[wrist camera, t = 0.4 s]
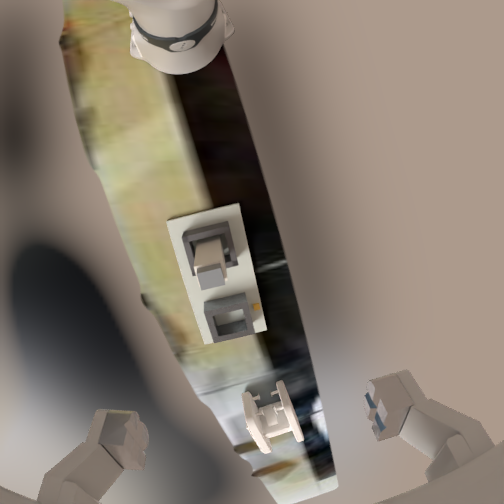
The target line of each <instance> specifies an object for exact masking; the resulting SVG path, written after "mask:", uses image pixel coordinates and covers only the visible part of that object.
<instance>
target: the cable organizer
mask: <svg viewBox="0 0 504 504" xmlns="http://www.w3.org/2000/svg"><path fill="white" fill-rule="evenodd" d="M276 386H277V389H278V390H276V391H273V392H271V391H270V393H271V396H272V395H274V394H277V393H279V396H280V399H281V401H279V402H276V403H273V404H270V405H266V406H263V407H260V408H258V407H257V405H256V403H255V401H254V400H257V399H259V400H260V396H259V394H258V396H256V397H252V395H251V393H250V392H249V391H248V392H245V393H242V401H243V407H244V413H245V419H246V426H247V427H246V428H247V430H249V431H250V434H251V435H252V438H254V440H255V442H256V444H257V445H258V446H259V448H260V451H262V452H264V453H265V454H267V453H270V452H272V447H271V443H270V439H269V438H271V437H275V436H277V435H280V434H283V433H286V432H289V431H293V433H294V435H295V438H296V440H297V441H298V442H301V441H304V437H303V433H302V430H301V428H300V425H299V422H298V419H297V416H296V413H295V410H294V408H293V405H292V403H291V400H290V397H289V395H288V392H287V390H286V387H285V385H284V382H283V381H282V380H280V381H277V382H276Z"/></svg>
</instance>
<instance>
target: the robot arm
mask: <svg viewBox="0 0 504 504" xmlns="http://www.w3.org/2000/svg"><path fill="white" fill-rule="evenodd" d="M112 1H115V2H118V3H120V4H123V5H125V6H126V7H127V8H128V9H129V13H130V17H133V23H131V24H130V28H131V30H132V33H131V45H130V53H131V56H132V57H134V58H137V59H140V60H145V61H146V62H148V63H149V64H150V65H152V66H153V67H154V68H156V69H157V70H159V71H162V72H165V73H169V74H186V73H190V72H194V71H196V70H199V69H201V68H202V67H204V66H206V65H207V64H208V63H210V62H211V61H212V60H213V59H214V58H215V56H216V55H217V54H218V52H219V50H220V48H221V46H222V44H223V43H224V41H226V40H227V39H228V38H230V37H231V36H232V35H233V33H234V31H235V30H234V26H233V24H232V22H231V20H230V18H229V17H228V14H227V13H226V11H225V9H224V7H223V5H222V4H221V1H220V0H112ZM226 24H227V26H226ZM135 46H136V47H135ZM366 388H367V390H368V392H367V393H366V395H365V396H364V409H365V413H366V415H367V418H368V419H369V420H371V421H373V425H372V429H373V432H374V434H375V436H376V439H377V441H381V440H385V439H388V438H391V437H394V436H397V435H399V437H401V438H402V439H404V440H405V441H406V442H408V443H409V444H411V445H412V446H414V447H415V448H416V449H418V450H419V451H421V452H422V453H424V454H425V455H427V456H428V457H430V458H431V459H433V461H432V463H431V464H430V466H429V467H428V468H427V470H426V472H425V475H426V477H427V479H428V483H426V484H424V485H422V486H419V487H417V488H415V489H412V490H410V491H407V492H405V493H402V494H400V495H397V496H395V497H392V498H389V499H386V500H383V501H381V502H378V503H375V504H504V440H503V441H502V442H500V443H499V444H498V445H496V446H495V445H494V444H493V442H492V440H491V439H490V437H489V436H488V434H487V433H486V431H485V430H484V428H483V426H482V425H481V423H480V422H479V421H477V420H475V419H473V418H471V417H468V416H466V415H464V414H462V413H460V412H457V411H456V410H453V409H451V408H449V407H447V406H445V405H443V404H441V403H439V402H437V401H434V400H432V399H429V400H427V398H426V397H425V395H424V393H423V392H422V390H421V389H420V387H419V386H418V384H417V382H416V381H415V379H414V378H413V376H412V375H411V373H410V372H409V371H408V370H403V371H400V372H397V373H394V374H389V375H386V376H383V377H379V378H376V379H372V380H369V381H368V382H367V386H366ZM148 441H149V436H148V431H147V428H146V426H145V424H144V423H142V422H140V421H139V415H138V413H137V412H136V411H120V410H104V409H98V410H97V411H96V413H95V415H94V418H93V421H92V424H91V427H90V430H89V433H88V436H87V439H86V442H85V443H83V442H82V443H81V444H80V445H79V446H78V447H76V448H75V449H74V450H73V451H72V452H71V453H69V454H68V455H67V456H66V457H65V458H64V459H63V460H61V461H60V462H59V463H58V464H57V465H55V466H54V467H53V468H52V469H51V470H50V471H48V472H47V473H46V474H45V475H44V478H43V482H42V485H41V488H40V491H39V494H38V498H37V501H36V500H33V499H30V498H28V497H25V496H23V495H20V494H18V493H15V492H13V491H11V490H8V489H6V488H4V487H2V486H0V504H101V503H100V502H98V501H99V500H100V499H101V498H102V496H103V495H104V494H105V493H106V491H107V490H108V489H109V488H110V487H111V485H112V484H113V483H114V482H115V481H116V479H117V478H118V477H119V476H120V474H121V473H122V472H123V471H124V470H123V469H130V470H144V467H145V461H146V455H145V453H144V452H143V451H144V450H145V449H146V448H147V447H148Z"/></svg>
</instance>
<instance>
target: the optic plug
mask: <svg viewBox="0 0 504 504" xmlns="http://www.w3.org/2000/svg"><path fill="white" fill-rule="evenodd" d="M194 270H195V274H196V277H197V280H198V284H199V287H201V291H202V290H206V289H210V288H214V287H219V286H223V285H225V281H227V280H228V277H227V271H226V265H225V258H224V252H223V247H222V243H221V239H220V235H214V236H210V237H206V238H202V239H198V240H197V246H196V253H195V260H194Z"/></svg>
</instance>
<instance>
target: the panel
mask: <svg viewBox="0 0 504 504" xmlns="http://www.w3.org/2000/svg"><path fill="white" fill-rule="evenodd" d="M166 223H167V226H168V230H169V233H170V237H171V240H172V244H173V247H174V251H175V254H176V258H177V261H178V264H179V268H180V271H181V274H182V277H183V281H184V284H185V287H186V290H187V293H188V296H189V299H190V302H191V305H192V308H193V311H194V314H195V317H196V320H197V323H198V326H199V329H200V332H201V335H202V338H203V341H204V343H205V344H210V343H214V342H213V339H212V336H211V333H210V330H209V327H208V324H207V321H206V317H205V314H204V302H206V301H210V300H214V299H218V298H223V297H227V296H231V295H235V294H239V293H243V292H245V294H246V298H247V302H248V306H249V310H250V314H251V318H252V322H253V326H254V330H255V333H257V332H261V331H265V330H267V328H266V323H265V319H264V314H263V310H262V305H261V301H260V296H259V292H258V287H257V283H256V278H255V274H254V270H253V265H252V261H251V256H250V252H249V247H248V243H247V238H246V234H245V229H244V225H243V220H242V216H241V211H240V207H239V203H235V204H231V205H227V206H223V207H219V208H214V209H210V210H206V211H202V212H198V213H194V214H190V215H186V216H182V217H179V218H175V219H171V220H167V221H166ZM214 235H220V239H221V243H222V247H223V252H224V258H225V265H226V271H227V277H228V280H227V281H225V285H223V286H219V287H214V288H210V289H206V290H202V291H201V287H199V284H198V280H197V277H196V274H195V270H194V260H195V253H196V246H197V240H198V239H202V238H206V237H210V236H214ZM215 319H216V322H217V325H218V326H219V325H223V324H228V323H232V322H236V321H240V320H244V319H245V317H244V313H243V309H240V310H236V311H231V312H227V313H223V314H219V315H215Z"/></svg>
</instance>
